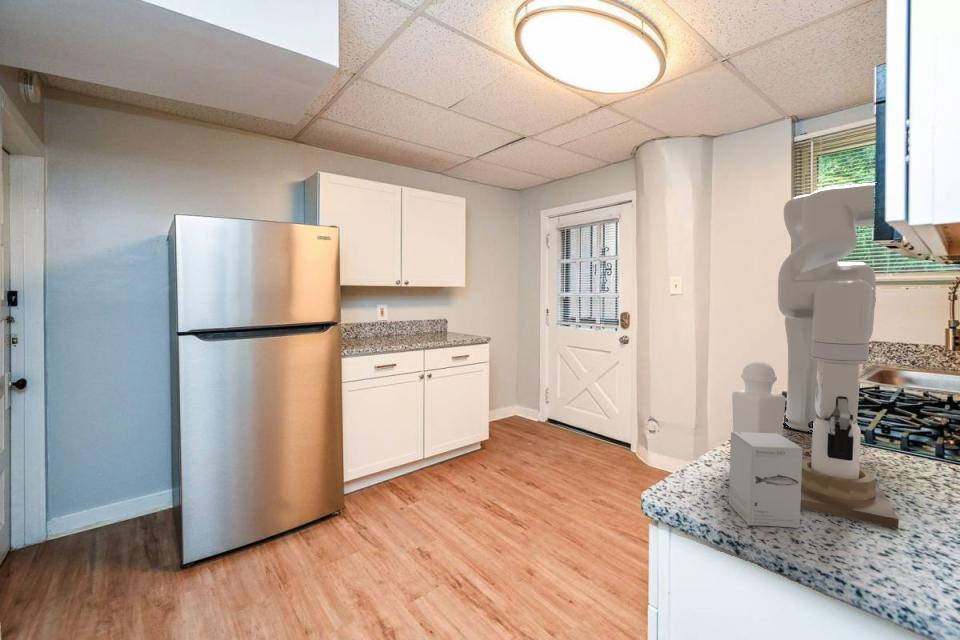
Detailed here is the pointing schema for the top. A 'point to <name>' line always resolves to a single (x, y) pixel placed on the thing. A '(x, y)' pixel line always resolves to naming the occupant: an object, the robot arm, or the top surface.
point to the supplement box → (765, 479)
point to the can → (833, 465)
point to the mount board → (846, 496)
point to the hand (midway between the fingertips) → (835, 449)
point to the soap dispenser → (758, 401)
